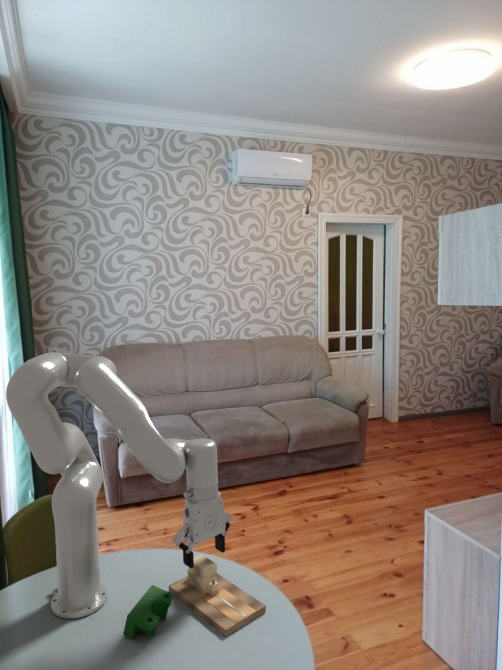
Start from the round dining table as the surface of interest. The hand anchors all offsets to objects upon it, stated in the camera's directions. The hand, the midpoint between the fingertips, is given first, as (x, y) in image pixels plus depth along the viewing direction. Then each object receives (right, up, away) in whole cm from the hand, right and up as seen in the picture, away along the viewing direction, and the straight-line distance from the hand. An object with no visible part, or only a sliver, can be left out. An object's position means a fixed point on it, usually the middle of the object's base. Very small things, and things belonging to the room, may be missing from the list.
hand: (204, 557), depth 119 cm
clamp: (-11, -10, -12) cm, 19 cm away
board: (+3, -9, -3) cm, 10 cm away
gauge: (-1, -7, +1) cm, 7 cm away
